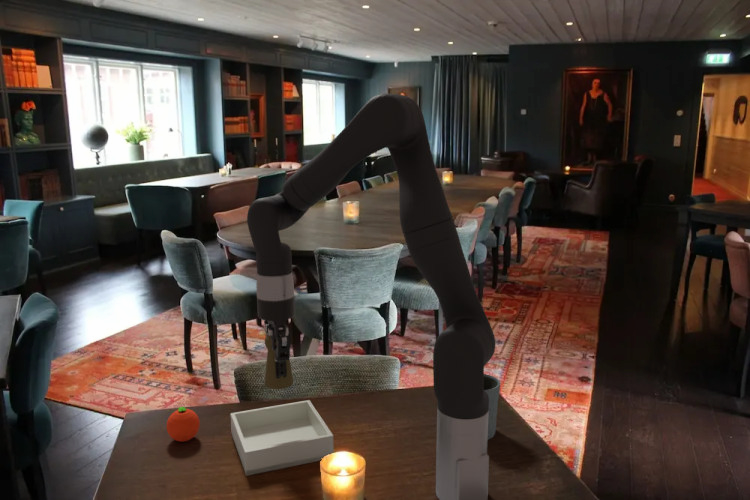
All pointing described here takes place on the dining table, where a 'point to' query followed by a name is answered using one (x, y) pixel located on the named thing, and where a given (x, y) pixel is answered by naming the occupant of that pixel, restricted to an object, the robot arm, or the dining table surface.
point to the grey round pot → (492, 402)
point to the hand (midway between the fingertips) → (278, 373)
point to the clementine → (183, 424)
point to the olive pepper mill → (271, 373)
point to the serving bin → (280, 436)
